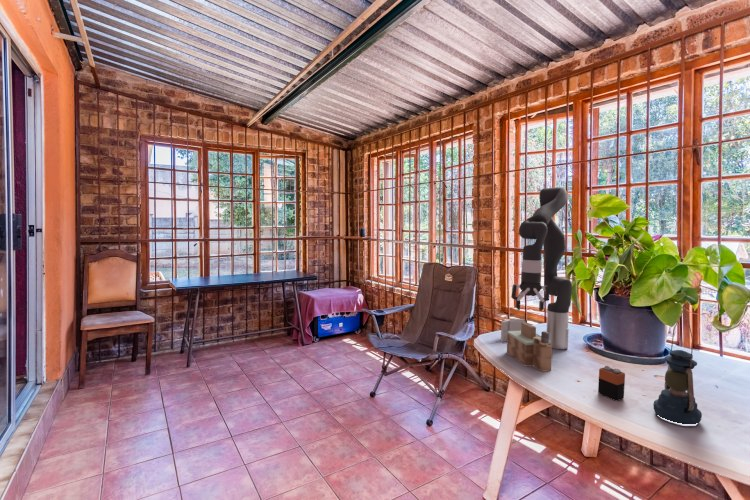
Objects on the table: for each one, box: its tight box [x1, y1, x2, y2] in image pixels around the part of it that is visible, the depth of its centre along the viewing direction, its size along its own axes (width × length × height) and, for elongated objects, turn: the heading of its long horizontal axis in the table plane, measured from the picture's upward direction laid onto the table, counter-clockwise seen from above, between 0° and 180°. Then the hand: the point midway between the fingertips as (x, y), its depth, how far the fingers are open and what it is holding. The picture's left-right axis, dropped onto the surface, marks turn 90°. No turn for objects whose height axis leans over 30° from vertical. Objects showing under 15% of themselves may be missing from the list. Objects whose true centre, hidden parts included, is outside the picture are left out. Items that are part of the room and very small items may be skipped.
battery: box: [597, 365, 626, 401], centre depth 136 cm, size 4×7×10 cm, turn 26°
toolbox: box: [506, 334, 553, 372], centre depth 169 cm, size 22×11×12 cm, turn 9°
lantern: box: [653, 307, 703, 424], centre depth 120 cm, size 14×12×35 cm
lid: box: [507, 322, 551, 345], centre depth 171 cm, size 16×11×7 cm
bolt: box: [533, 330, 549, 346], centre depth 162 cm, size 8×3×5 cm, turn 9°
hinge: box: [500, 318, 528, 343], centre depth 198 cm, size 14×5×10 cm, turn 98°
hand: (529, 310), depth 162 cm, fingers open, 8 cm apart
